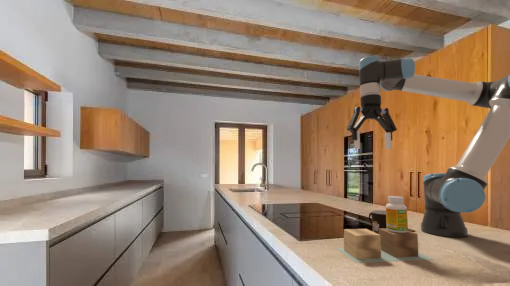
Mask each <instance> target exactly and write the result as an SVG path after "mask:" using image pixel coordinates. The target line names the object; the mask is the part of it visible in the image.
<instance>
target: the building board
mask: <svg viewBox="0 0 510 286" xmlns="http://www.w3.org/2000/svg"><path fill="white" fill-rule="evenodd" d="M335 249H336V250H337V251H339V252H340V253H341V254H342V255H344V256H346V257H347V258H349V259H350V260H351V261H353V262H354V263H357V264H358V263H360V264H362V263H380V262H386V263H387V262H388V263H389V262H406V261H407V262H408V261H412V262H413V261H429V260H431V261H432V260H433V261H434V260H435V258H432V257H430V256H428V255H424V254H423V253H421V252H419V251H418V257H393V256H391V255H389V254H387V253H386V252H384V251H382V250H381V258H368V259H356V258H354V257H353V256H352V255H350V254H349V253H347V252H346V251H344V247H336V248H335Z"/></svg>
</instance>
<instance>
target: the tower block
mask: <svg viewBox="0 0 510 286" xmlns="http://www.w3.org/2000/svg"><path fill="white" fill-rule="evenodd" d="M379 235H380V239H381V250H382V251H384V252H386V253H387V254H389V255H391V256H393V257H418V252H419V238H418V233H416V232H414V231H410V230H408V232H407V233H395V232H390V231H388V230H387V228H379Z"/></svg>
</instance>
